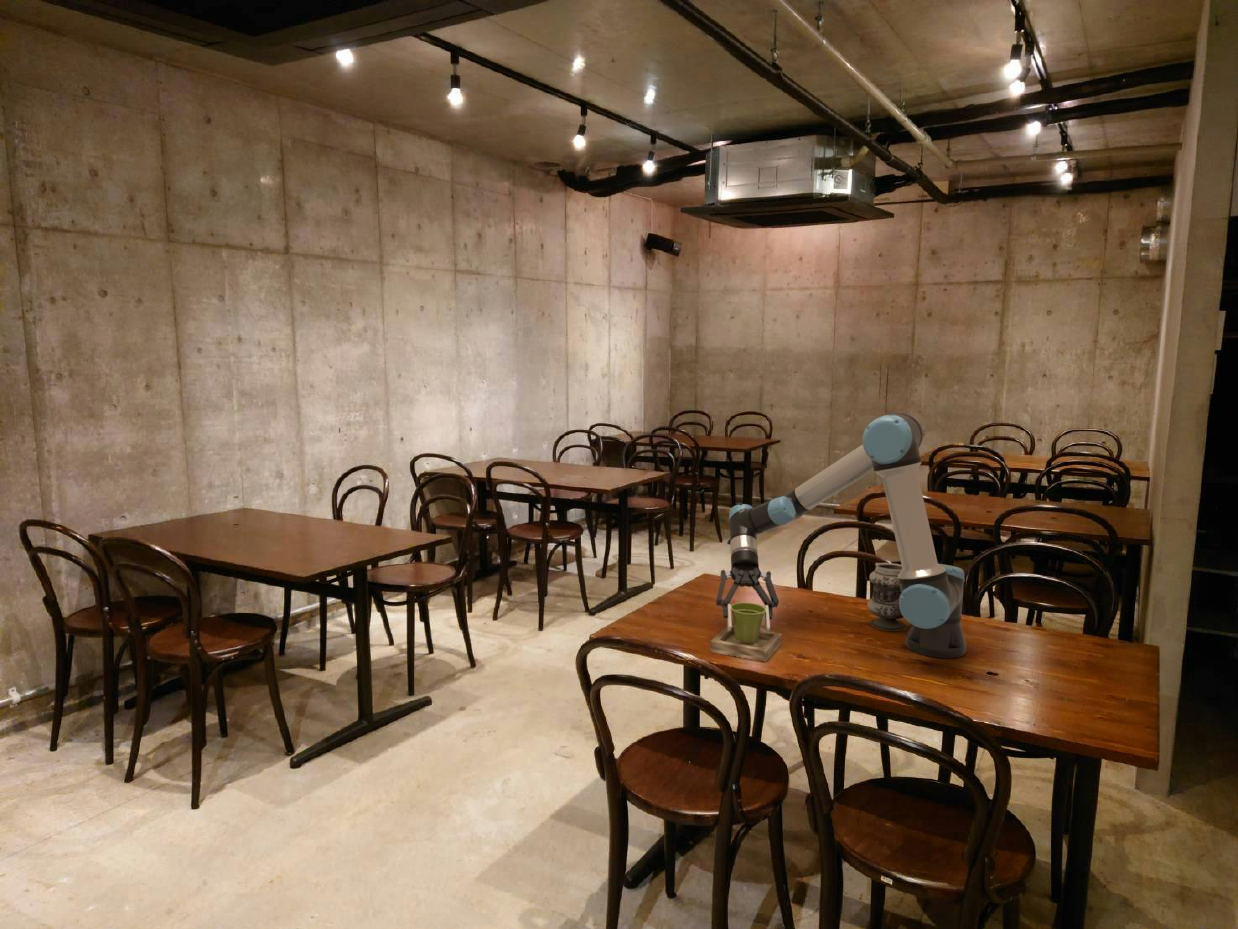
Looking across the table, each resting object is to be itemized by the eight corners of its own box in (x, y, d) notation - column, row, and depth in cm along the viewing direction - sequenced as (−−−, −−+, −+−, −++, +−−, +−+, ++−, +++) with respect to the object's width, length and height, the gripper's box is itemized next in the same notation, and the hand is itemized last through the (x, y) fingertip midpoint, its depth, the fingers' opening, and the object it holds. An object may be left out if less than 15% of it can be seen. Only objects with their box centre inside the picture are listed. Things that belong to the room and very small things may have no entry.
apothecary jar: (901, 619, 234) (905, 561, 232) (915, 633, 222) (920, 572, 220) (861, 618, 235) (864, 560, 232) (873, 632, 223) (877, 571, 220)
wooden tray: (781, 644, 212) (781, 633, 211) (765, 662, 199) (766, 651, 198) (728, 634, 218) (729, 624, 218) (710, 652, 205) (710, 641, 205)
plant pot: (763, 634, 212) (764, 603, 211) (766, 646, 203) (767, 614, 202) (728, 632, 213) (729, 601, 212) (729, 644, 204) (731, 612, 203)
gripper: (781, 563, 221) (788, 636, 207) (704, 561, 222) (705, 634, 208) (785, 549, 215) (793, 624, 201) (705, 547, 216) (707, 621, 202)
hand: (748, 629), depth 205 cm, fingers closed on plant pot, 9 cm apart
